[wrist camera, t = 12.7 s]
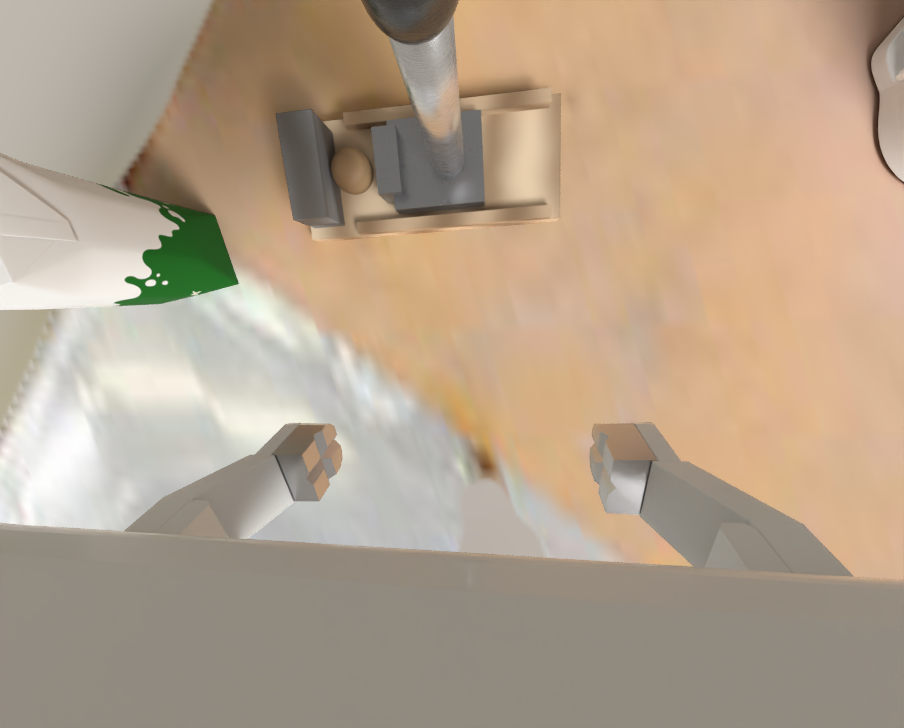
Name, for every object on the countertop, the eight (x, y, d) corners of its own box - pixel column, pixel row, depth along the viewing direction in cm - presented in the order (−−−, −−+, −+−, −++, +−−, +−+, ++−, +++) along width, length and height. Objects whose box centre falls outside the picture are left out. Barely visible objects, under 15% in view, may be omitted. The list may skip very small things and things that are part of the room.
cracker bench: (556, 103, 29) (574, 60, 24) (556, 221, 31) (573, 206, 26) (303, 132, 31) (267, 99, 26) (319, 241, 33) (289, 232, 28)
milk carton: (220, 204, 33) (-144, 81, 14) (250, 291, 35) (-32, 294, 15) (146, 224, 34) (-291, 137, 15) (179, 308, 36) (-170, 331, 16)
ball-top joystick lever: (480, 120, 28) (495, -295, 8) (484, 206, 30) (504, 34, 10) (380, 132, 29) (169, -224, 9) (389, 215, 30) (226, 72, 10)
